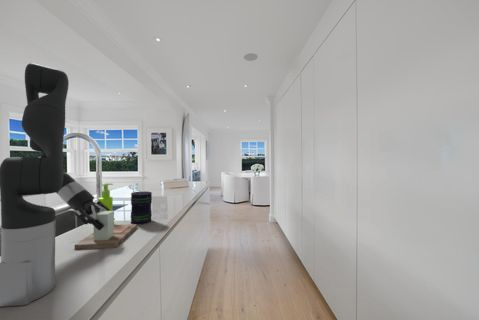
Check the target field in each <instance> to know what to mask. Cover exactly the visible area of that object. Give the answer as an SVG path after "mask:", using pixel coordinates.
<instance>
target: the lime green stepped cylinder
mask: <svg viewBox="0 0 479 320" xmlns="http://www.w3.org/2000/svg"><path fill="white" fill-rule="evenodd" d="M111 185H112V186H113V185H114V183H107V182H106V183H103V184H102V185H101V187H102V186H103V190H101V197H98V201H101V202H102V203H103V204H104V205H105V206H106V207H107V208H109V209H110V211H113V208H114V207H113V201H114V200H113V199H114V198H113V196H110V194H111V192H110V191H111V190H110V189H109V186H111ZM104 209H105V208H104ZM105 210H106V209H105Z"/></svg>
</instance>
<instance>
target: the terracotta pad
mask: <svg viewBox="0 0 479 320" xmlns="http://www.w3.org/2000/svg"><path fill="white" fill-rule="evenodd" d="M128 227H129V226H114V233H122V232H123V231H124V230H126V229H127V228H128Z"/></svg>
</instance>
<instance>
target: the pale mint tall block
mask: <svg viewBox="0 0 479 320" xmlns="http://www.w3.org/2000/svg"><path fill="white" fill-rule="evenodd" d="M95 216H96V220H97V219H98V220H99V221H100V222H101V223H102V224H103V225H104V227H103V228H102V229H101V230H98V229H97V228H96V227H95V226H93V233H94V241H95V240H108V239H110V238H111V237H112V236H113V235H114V225H115V220H114V219H115V210H112V211H100V212H98V213H96V215H95Z"/></svg>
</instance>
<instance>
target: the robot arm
mask: <svg viewBox="0 0 479 320" xmlns="http://www.w3.org/2000/svg"><path fill="white" fill-rule="evenodd" d="M68 77H69V76H68V75H67V73H66V72H64V70H63V71H62V70H61V69H57V68H54V67H50V66H46V65H42V64H37V63H32V62H31V63H30V62H29V63H28V64H27V65H26V66H25V70H24V87H25V95H26V106H25V107H24V110H23V115H22V118H21V119H22V120H21V128H22V130H23V131H24V133H25V134H26V135H27V136H28V138H30V139H29V141H30V142H29V143H30V149H32V150H33V151H35V152H40V153H41V156H38V157H36V156H32V157H31V156H11V157H6V158H4V159H3V160H2V162H1V164H0V219H1V224H0V227H1V229H0V231H1V233H0V234H1V237H0V238H1V239H0V241H1V242H0V243H1V244H0V307H1V308H2V307H13V306H14V307H15V306H26V305H29V304H31V302H33V301H35V300H38V299H40V298H42V297H44V296H46V295H47V294H48V293H50V292H51V291H52V290H53V289H54V288H55V286H56V285H55V282H56V280H55V279H56V217H57V216H56V210H55V209H54V208H53V207H50V206H46V205H45V206H44V205H40V204H39V205H38V204H35V203H31V202H30V201H27V200H25V199H24V197H25V196H37V195H38V196H39V195H49V194H57V195H58V196H59V198H61V200H63V202H65V204H67V205H68V206H69V207H70V208H71V209H72V210H73V211H74V212H73V213H74V215H75V216H76V217H77V218H78V219H79V220H80V221H81V222H82V223H83V224H84V225H88V224H89V225H92V226H93V227H94V226H95V227H96V228H97V229H98V230H101V229H102V228H103V227H104V225H103V224H102V223H101V222H100V221H99V220H98V219H97V220H96V216H95V215H96V213H98V212H100V211H110V209H109V208H107V207H106V206H105V205H104V204H103V203H102V202H101V201H99V200H98V201H97V202H95V201H94V199H95V196H94V195H93V194H91V193H90V191H88V190H87V189H86V188H85V187H84V186H83V185H82V184H80V183H79V182H77V181H76V180H75V179H74V178H73V177H72V176H71V175H70V174H69V173H66V172H64V150H63V149H64V148H63V147H64V135H65V129H66V128H65V127H66V103H67V96H68V93H69V92H68V90H69V78H68ZM39 93H40V94H45V95H42V96H40V95H39ZM104 208H105V209H106V210H105V209H104ZM114 221H115V218H114Z"/></svg>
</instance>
